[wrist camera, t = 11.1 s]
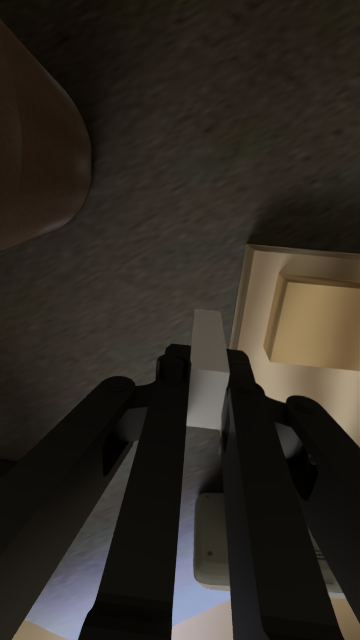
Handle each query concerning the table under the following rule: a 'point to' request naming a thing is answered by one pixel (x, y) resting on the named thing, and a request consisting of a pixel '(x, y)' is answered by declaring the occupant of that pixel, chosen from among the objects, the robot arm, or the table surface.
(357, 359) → the ochre tile
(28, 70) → the plant pot
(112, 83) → the table surface
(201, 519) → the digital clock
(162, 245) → the table surface
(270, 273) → the platform
